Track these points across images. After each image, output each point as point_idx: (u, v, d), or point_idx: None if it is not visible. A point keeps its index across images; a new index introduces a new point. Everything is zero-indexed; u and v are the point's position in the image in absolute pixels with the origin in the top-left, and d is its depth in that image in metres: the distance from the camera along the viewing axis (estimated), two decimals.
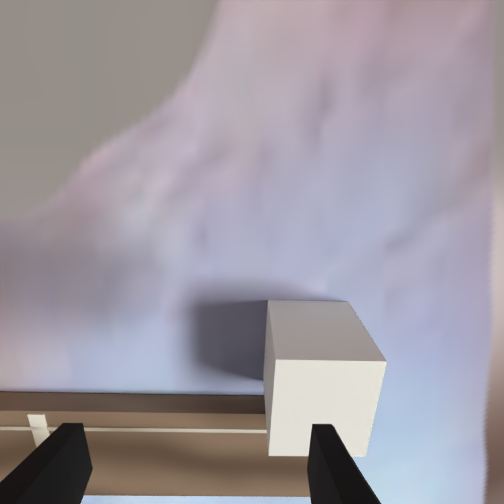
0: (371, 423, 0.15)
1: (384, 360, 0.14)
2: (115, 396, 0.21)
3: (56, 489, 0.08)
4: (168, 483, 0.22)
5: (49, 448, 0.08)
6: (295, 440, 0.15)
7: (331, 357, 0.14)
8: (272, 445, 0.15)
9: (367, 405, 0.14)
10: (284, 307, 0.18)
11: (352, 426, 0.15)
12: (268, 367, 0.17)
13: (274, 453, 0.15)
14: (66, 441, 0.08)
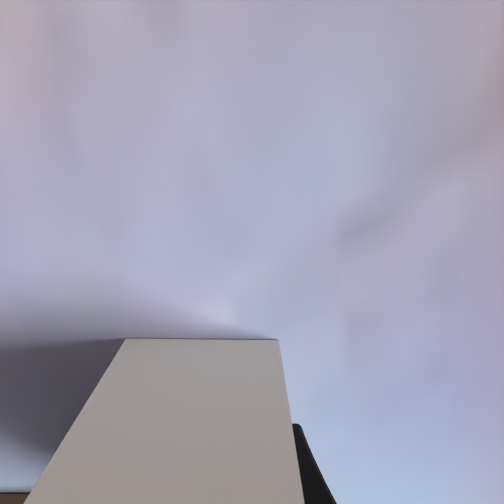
0: None
1: None
2: None
3: None
4: None
5: None
6: None
7: None
8: None
9: None
10: (145, 358, 0.09)
11: None
12: None
13: None
14: None
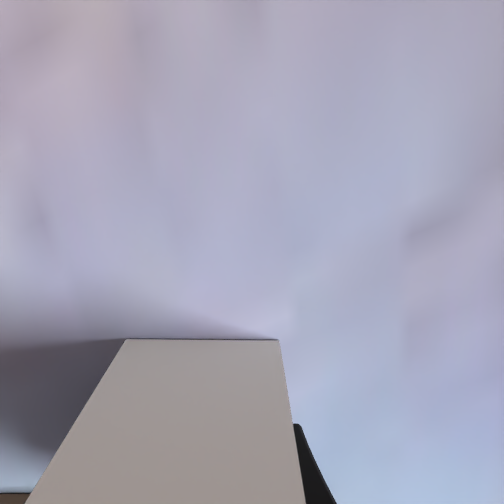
0: None
1: None
2: None
3: None
4: None
5: None
6: None
7: None
8: None
9: None
10: (145, 358, 0.09)
11: None
12: None
13: None
14: None
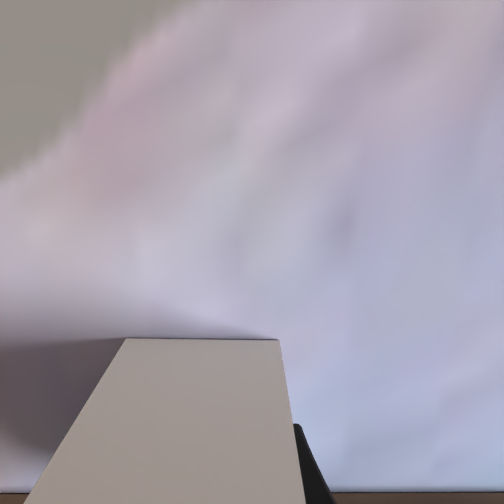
0: None
1: None
2: None
3: None
4: None
5: None
6: None
7: None
8: None
9: None
10: (145, 358, 0.09)
11: None
12: None
13: None
14: None
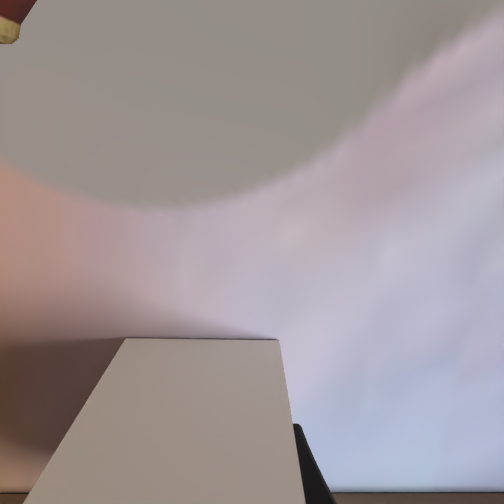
0: None
1: None
2: (338, 499, 0.12)
3: None
4: None
5: None
6: None
7: None
8: None
9: None
10: (145, 358, 0.09)
11: None
12: None
13: None
14: None
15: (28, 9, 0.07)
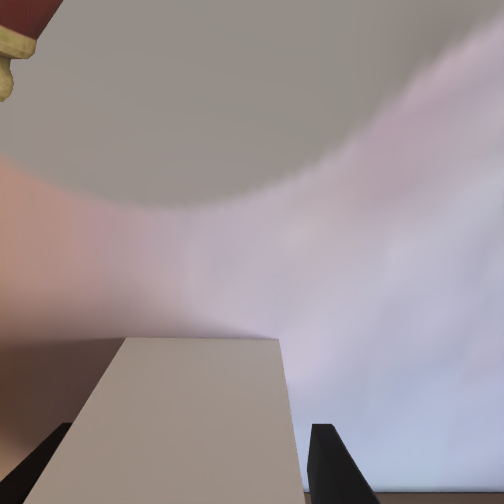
0: None
1: None
2: None
3: None
4: None
5: (49, 448, 0.08)
6: None
7: None
8: None
9: None
10: (146, 355, 0.09)
11: None
12: None
13: None
14: None
15: (45, 25, 0.07)
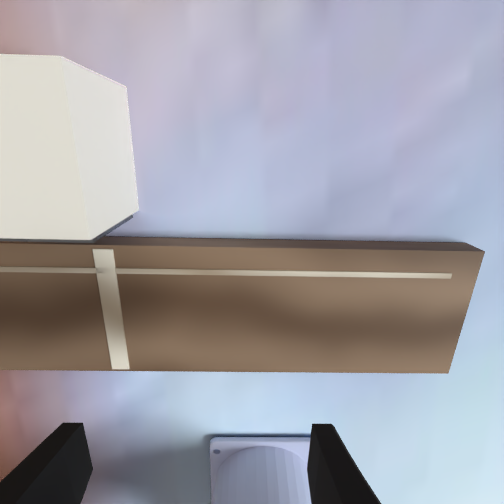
0: (77, 177, 0.11)
1: (59, 56, 0.09)
2: (194, 239, 0.17)
3: (56, 489, 0.08)
4: (254, 353, 0.18)
5: (49, 448, 0.08)
6: None
7: None
8: None
9: (60, 142, 0.10)
10: None
11: (53, 182, 0.11)
12: None
13: None
14: (66, 441, 0.08)
15: None
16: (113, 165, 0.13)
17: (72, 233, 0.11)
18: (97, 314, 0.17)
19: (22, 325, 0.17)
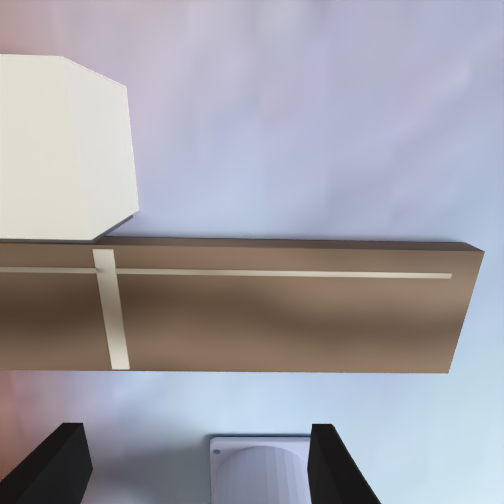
0: (78, 177, 0.11)
1: (60, 56, 0.09)
2: (194, 239, 0.17)
3: (56, 489, 0.08)
4: (254, 353, 0.18)
5: (49, 448, 0.08)
6: None
7: None
8: None
9: (61, 142, 0.10)
10: None
11: (54, 182, 0.11)
12: None
13: None
14: (66, 441, 0.08)
15: None
16: (113, 165, 0.13)
17: (73, 233, 0.11)
18: (97, 314, 0.17)
19: (22, 325, 0.17)
